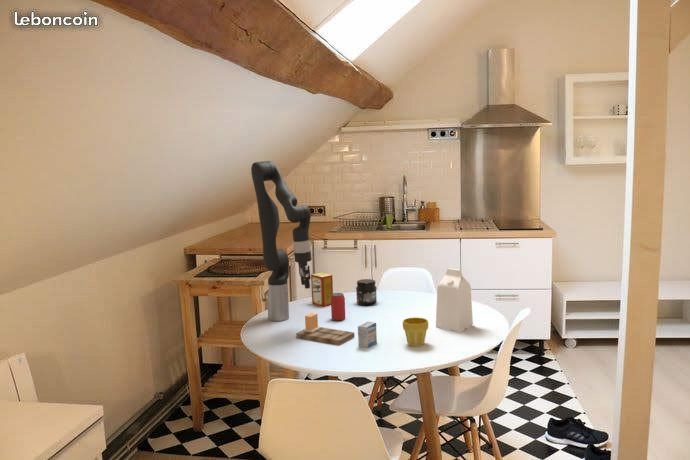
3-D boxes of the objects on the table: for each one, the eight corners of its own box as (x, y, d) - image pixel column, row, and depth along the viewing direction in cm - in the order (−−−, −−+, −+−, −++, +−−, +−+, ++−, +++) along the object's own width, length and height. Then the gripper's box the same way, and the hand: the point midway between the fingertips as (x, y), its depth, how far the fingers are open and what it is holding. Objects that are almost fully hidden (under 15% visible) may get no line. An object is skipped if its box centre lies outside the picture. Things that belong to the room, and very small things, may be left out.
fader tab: (303, 331, 263) (302, 316, 262) (311, 327, 268) (310, 312, 267) (312, 332, 261) (311, 317, 260) (320, 329, 266) (319, 313, 265)
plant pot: (402, 339, 254) (401, 317, 253) (427, 339, 254) (426, 316, 253) (404, 348, 244) (403, 324, 243) (429, 347, 244) (429, 324, 242)
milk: (472, 325, 271) (472, 268, 267) (458, 332, 262) (458, 273, 259) (450, 321, 279) (449, 265, 275) (435, 327, 271) (435, 269, 267)
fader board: (296, 337, 262) (296, 332, 261) (312, 330, 272) (312, 325, 272) (339, 345, 250) (339, 340, 250) (354, 337, 260) (354, 332, 260)
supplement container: (357, 301, 320) (357, 278, 318) (377, 301, 319) (377, 278, 317) (355, 306, 310) (354, 283, 308) (375, 306, 308) (375, 283, 307)
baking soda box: (333, 304, 314) (332, 274, 312) (323, 307, 310) (322, 276, 308) (322, 301, 321) (321, 271, 319) (312, 303, 317) (311, 273, 315)
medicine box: (367, 348, 245) (367, 327, 244) (358, 346, 248) (357, 326, 246) (377, 342, 252) (376, 322, 251) (367, 341, 254) (367, 321, 253)
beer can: (343, 321, 284) (343, 296, 282) (330, 320, 285) (329, 295, 284) (346, 317, 291) (345, 292, 289) (333, 316, 292) (332, 292, 290)
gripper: (291, 249, 275) (294, 284, 277) (296, 253, 262) (300, 290, 264) (307, 247, 277) (310, 282, 279) (313, 251, 263) (317, 288, 265)
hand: (305, 286), depth 271 cm, fingers open, 8 cm apart
